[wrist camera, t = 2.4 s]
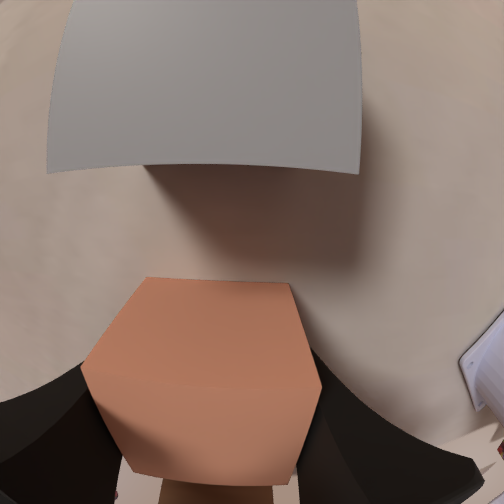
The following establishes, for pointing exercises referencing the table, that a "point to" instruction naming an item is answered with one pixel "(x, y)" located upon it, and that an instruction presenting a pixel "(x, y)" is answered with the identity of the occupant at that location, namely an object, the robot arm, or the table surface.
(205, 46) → the slate block
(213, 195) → the table surface
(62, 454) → the robot arm
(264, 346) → the terracotta block
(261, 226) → the table surface
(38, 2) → the table surface
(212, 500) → the walnut block
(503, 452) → the snack box
